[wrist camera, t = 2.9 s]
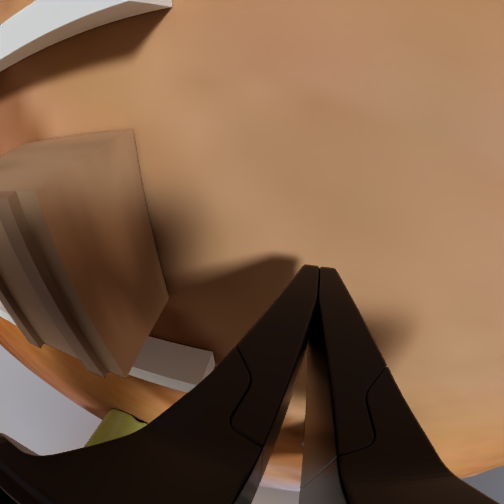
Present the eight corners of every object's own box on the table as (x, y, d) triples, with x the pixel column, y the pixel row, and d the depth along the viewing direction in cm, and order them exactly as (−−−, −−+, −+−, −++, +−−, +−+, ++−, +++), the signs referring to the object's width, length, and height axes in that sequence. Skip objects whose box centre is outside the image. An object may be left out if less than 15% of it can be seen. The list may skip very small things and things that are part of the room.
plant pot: (82, 392, 28) (51, 452, 21) (144, 412, 24) (112, 487, 18) (125, 427, 33) (102, 479, 26) (185, 445, 30) (163, 506, 23)
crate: (169, 298, 12) (122, 384, 9) (68, 275, 13) (19, 337, 10) (132, 128, 8) (25, 198, 5) (21, 144, 9) (-57, 197, 6)
